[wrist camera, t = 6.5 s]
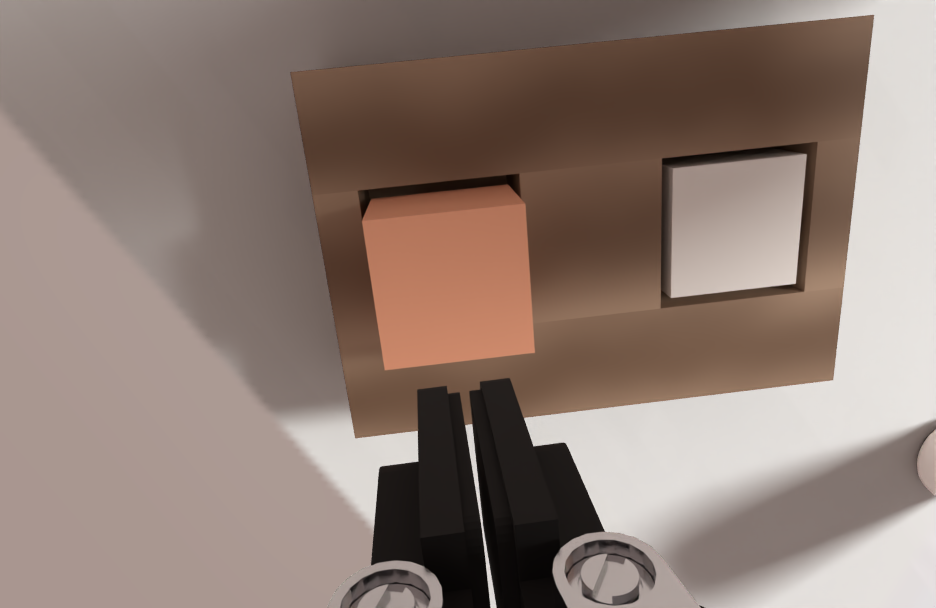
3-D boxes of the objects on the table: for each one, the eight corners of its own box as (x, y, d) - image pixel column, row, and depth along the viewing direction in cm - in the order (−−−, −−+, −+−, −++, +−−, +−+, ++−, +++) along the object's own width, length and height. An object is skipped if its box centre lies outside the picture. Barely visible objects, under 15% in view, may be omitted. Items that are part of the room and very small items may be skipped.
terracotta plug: (370, 198, 23) (361, 221, 19) (507, 184, 23) (525, 203, 19) (389, 326, 24) (384, 370, 21) (516, 311, 25) (534, 352, 21)
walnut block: (317, 75, 26) (290, 72, 21) (779, 29, 27) (874, 15, 22) (366, 374, 31) (355, 438, 25) (759, 327, 32) (833, 379, 26)
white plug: (636, 156, 27) (673, 168, 23) (751, 144, 27) (806, 154, 23) (637, 269, 28) (671, 298, 24) (745, 257, 28) (795, 283, 25)
